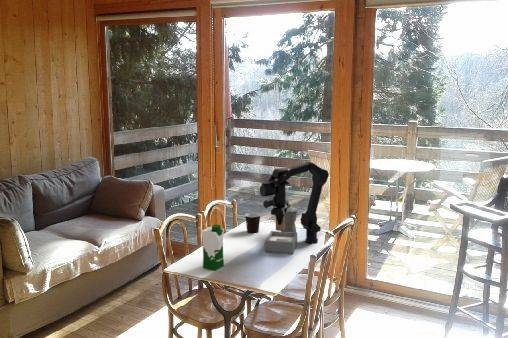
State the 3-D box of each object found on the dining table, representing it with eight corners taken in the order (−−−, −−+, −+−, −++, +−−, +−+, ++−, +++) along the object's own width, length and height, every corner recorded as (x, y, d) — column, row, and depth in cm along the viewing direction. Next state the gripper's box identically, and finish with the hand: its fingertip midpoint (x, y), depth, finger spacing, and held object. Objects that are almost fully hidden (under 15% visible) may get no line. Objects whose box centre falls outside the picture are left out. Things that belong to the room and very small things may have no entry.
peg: (277, 228, 245) (277, 211, 244) (284, 228, 244) (284, 211, 243) (275, 230, 242) (275, 213, 240) (283, 230, 241) (283, 213, 239)
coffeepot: (302, 237, 260) (302, 205, 257) (288, 240, 256) (288, 207, 252) (287, 229, 273) (287, 199, 270) (273, 232, 269) (273, 201, 266)
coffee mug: (246, 229, 275) (246, 212, 273) (261, 229, 274) (261, 213, 272) (243, 235, 264) (243, 218, 262) (258, 236, 263) (258, 218, 261)
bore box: (271, 241, 254) (271, 231, 252) (297, 243, 251) (297, 232, 250) (265, 252, 238) (265, 240, 237) (293, 254, 235) (293, 242, 234)
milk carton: (215, 272, 214) (214, 229, 211) (199, 268, 219) (198, 226, 215) (226, 265, 222) (226, 224, 218) (211, 261, 226) (209, 221, 223)
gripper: (267, 189, 250) (268, 217, 253) (260, 198, 232) (260, 228, 235) (289, 189, 248) (289, 218, 251) (282, 198, 230) (283, 229, 233)
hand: (280, 223), depth 242 cm, fingers closed on peg, 4 cm apart
